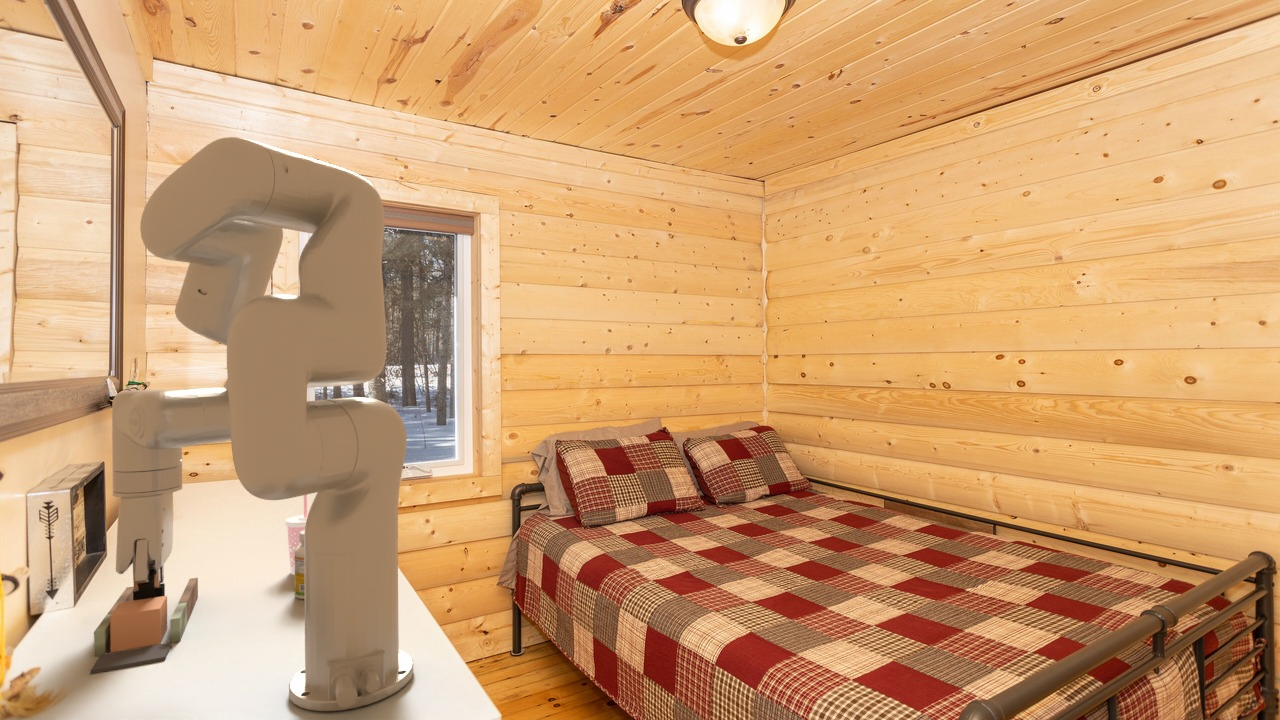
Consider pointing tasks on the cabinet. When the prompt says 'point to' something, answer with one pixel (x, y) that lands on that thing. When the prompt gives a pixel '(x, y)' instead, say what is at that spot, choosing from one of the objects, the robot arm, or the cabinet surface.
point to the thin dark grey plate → (131, 658)
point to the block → (138, 623)
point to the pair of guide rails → (176, 622)
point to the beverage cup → (295, 533)
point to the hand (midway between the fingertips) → (149, 616)
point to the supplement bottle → (299, 568)
